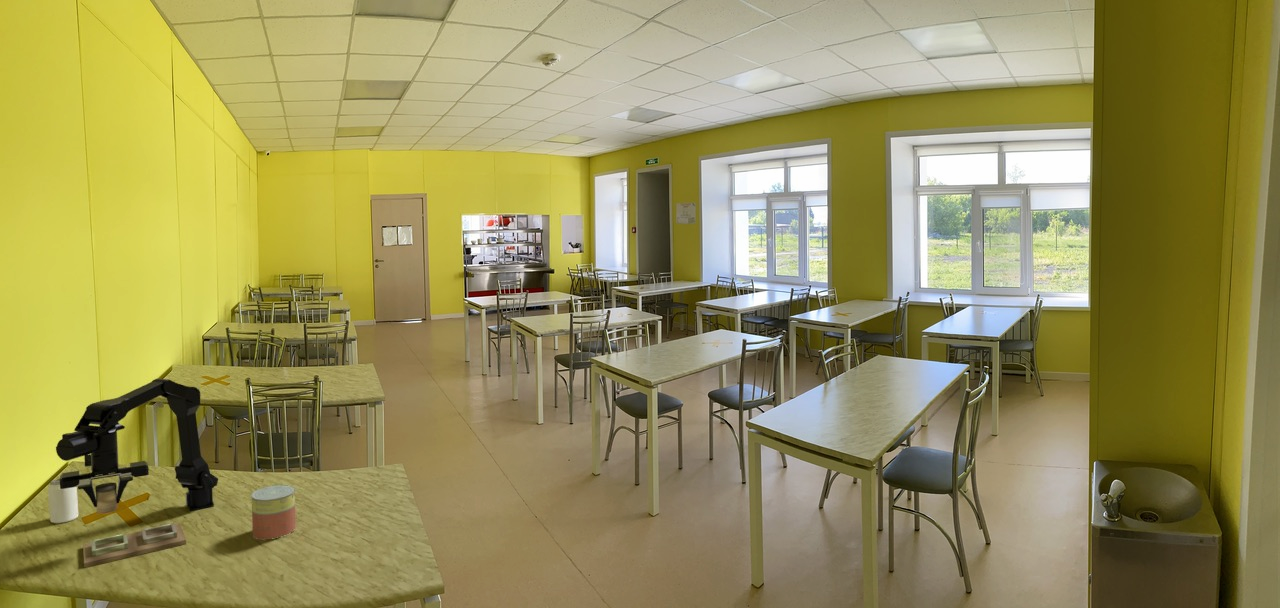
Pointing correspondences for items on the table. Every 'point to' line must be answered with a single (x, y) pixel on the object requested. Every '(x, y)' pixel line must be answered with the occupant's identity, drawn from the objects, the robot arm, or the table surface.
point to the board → (132, 544)
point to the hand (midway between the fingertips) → (106, 504)
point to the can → (62, 503)
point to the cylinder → (106, 497)
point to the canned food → (273, 511)
